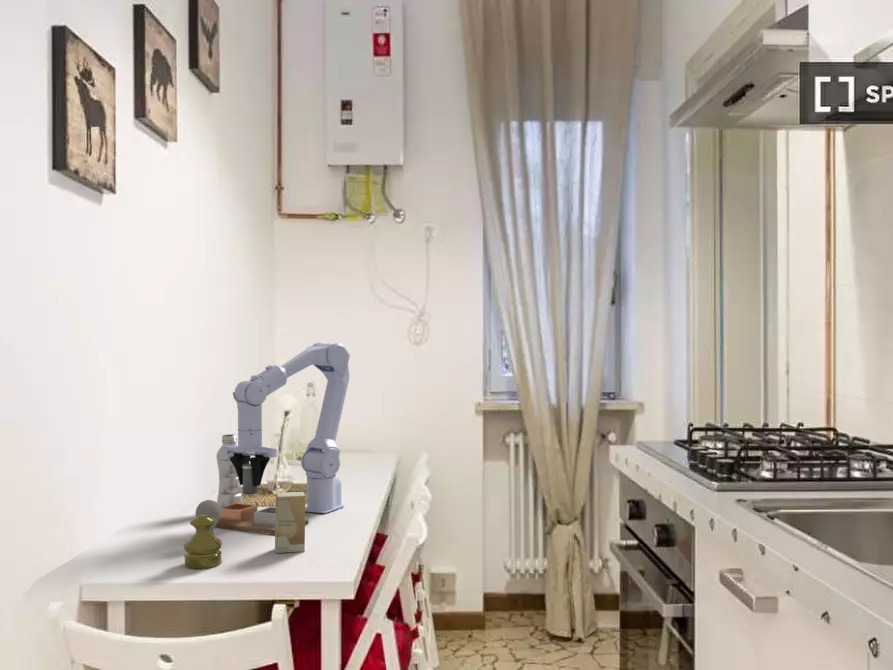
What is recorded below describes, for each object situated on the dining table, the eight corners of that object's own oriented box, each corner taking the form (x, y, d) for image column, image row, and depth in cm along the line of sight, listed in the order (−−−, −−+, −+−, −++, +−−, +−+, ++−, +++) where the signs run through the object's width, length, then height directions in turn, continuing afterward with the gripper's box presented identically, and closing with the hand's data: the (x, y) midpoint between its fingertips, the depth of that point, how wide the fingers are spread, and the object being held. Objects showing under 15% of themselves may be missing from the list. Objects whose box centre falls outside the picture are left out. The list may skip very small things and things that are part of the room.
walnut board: (236, 515, 211) (236, 511, 211) (308, 524, 202) (308, 519, 202) (204, 526, 200) (204, 522, 200) (278, 535, 191) (278, 531, 191)
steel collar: (270, 518, 203) (270, 506, 203) (292, 521, 201) (292, 509, 201) (254, 524, 198) (253, 512, 198) (276, 527, 195) (276, 514, 195)
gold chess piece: (225, 559, 172) (225, 511, 172) (216, 569, 164) (216, 519, 164) (189, 559, 172) (189, 511, 172) (179, 569, 164) (179, 519, 164)
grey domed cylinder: (248, 491, 205) (248, 462, 205) (260, 492, 204) (260, 463, 204) (239, 493, 202) (239, 465, 202) (251, 494, 200) (251, 465, 200)
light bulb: (211, 540, 187) (211, 496, 186) (226, 544, 183) (226, 499, 183) (190, 545, 182) (190, 500, 182) (205, 549, 179) (204, 503, 179)
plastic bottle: (236, 514, 213) (235, 437, 213) (212, 513, 214) (211, 436, 214) (247, 509, 219) (246, 434, 219) (223, 508, 220) (223, 433, 220)
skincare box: (275, 553, 175) (275, 496, 175) (274, 548, 180) (274, 492, 179) (306, 551, 177) (306, 494, 177) (304, 546, 181) (304, 490, 181)
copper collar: (236, 515, 208) (236, 503, 208) (257, 517, 205) (257, 505, 205) (219, 520, 202) (219, 508, 202) (240, 523, 199) (240, 510, 199)
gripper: (215, 430, 202) (215, 485, 202) (264, 433, 196) (264, 490, 196) (234, 427, 209) (234, 480, 209) (281, 429, 203) (281, 485, 203)
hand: (250, 485), depth 203 cm, fingers closed on grey domed cylinder, 3 cm apart
